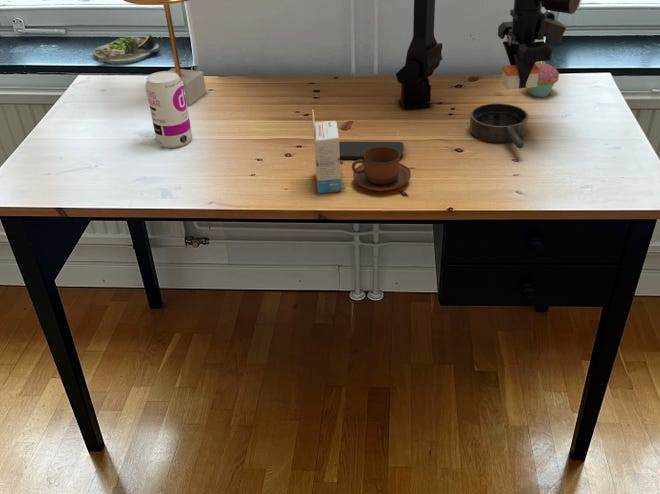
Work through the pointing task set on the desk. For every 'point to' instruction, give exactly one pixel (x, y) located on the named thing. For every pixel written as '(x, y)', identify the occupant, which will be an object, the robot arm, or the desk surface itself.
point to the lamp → (190, 78)
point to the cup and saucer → (381, 170)
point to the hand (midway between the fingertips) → (520, 80)
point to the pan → (497, 122)
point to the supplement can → (168, 109)
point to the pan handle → (514, 137)
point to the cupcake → (545, 80)
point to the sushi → (512, 77)
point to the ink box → (327, 156)
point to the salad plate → (127, 50)
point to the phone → (365, 148)
